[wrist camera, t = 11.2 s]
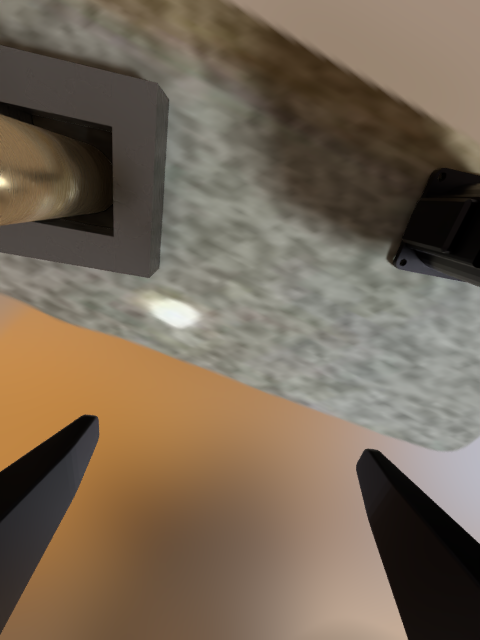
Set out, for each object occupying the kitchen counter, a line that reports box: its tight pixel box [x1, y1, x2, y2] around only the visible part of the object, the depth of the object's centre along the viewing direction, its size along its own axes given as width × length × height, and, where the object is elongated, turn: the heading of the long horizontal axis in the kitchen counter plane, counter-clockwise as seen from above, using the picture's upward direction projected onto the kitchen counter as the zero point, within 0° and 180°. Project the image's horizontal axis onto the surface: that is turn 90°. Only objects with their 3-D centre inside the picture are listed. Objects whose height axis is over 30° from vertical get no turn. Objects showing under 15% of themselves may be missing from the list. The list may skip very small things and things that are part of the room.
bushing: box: [0, 114, 113, 226], centre depth 13 cm, size 4×4×9 cm
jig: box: [0, 45, 169, 278], centre depth 16 cm, size 10×10×2 cm
